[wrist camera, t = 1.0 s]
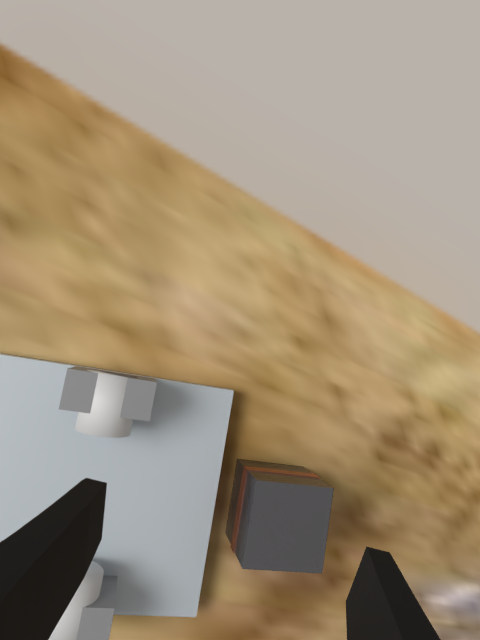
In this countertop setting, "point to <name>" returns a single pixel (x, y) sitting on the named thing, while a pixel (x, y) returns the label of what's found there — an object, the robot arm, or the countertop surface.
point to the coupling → (278, 517)
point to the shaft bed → (116, 479)
